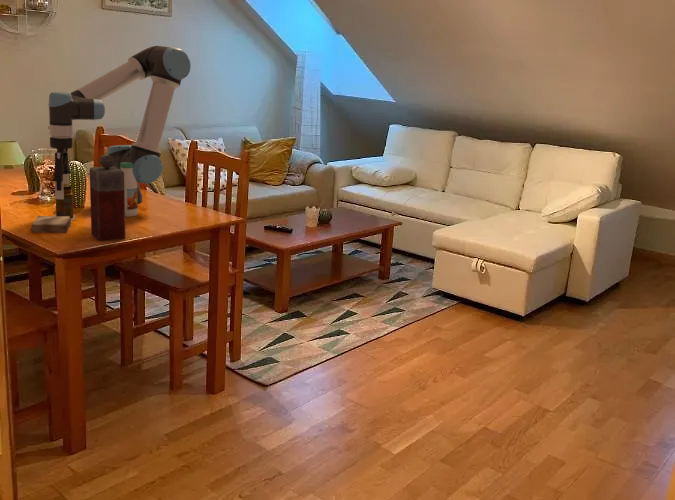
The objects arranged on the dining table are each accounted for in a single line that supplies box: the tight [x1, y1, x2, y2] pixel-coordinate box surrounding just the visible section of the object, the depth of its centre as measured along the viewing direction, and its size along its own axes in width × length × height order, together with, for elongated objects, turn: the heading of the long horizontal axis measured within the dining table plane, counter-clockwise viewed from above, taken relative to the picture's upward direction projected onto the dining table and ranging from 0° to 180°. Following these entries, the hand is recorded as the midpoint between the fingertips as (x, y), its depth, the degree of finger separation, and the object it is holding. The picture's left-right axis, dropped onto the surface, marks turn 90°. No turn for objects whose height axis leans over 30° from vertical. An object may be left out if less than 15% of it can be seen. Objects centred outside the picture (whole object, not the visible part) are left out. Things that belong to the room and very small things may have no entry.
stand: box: [31, 215, 72, 234], centre depth 241 cm, size 11×11×3 cm
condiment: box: [53, 184, 76, 221], centre depth 254 cm, size 7×8×12 cm
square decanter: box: [89, 153, 126, 242], centre depth 233 cm, size 9×11×28 cm
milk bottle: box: [120, 162, 139, 218], centre depth 263 cm, size 8×8×20 cm
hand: (62, 195), depth 253 cm, fingers open, 13 cm apart
